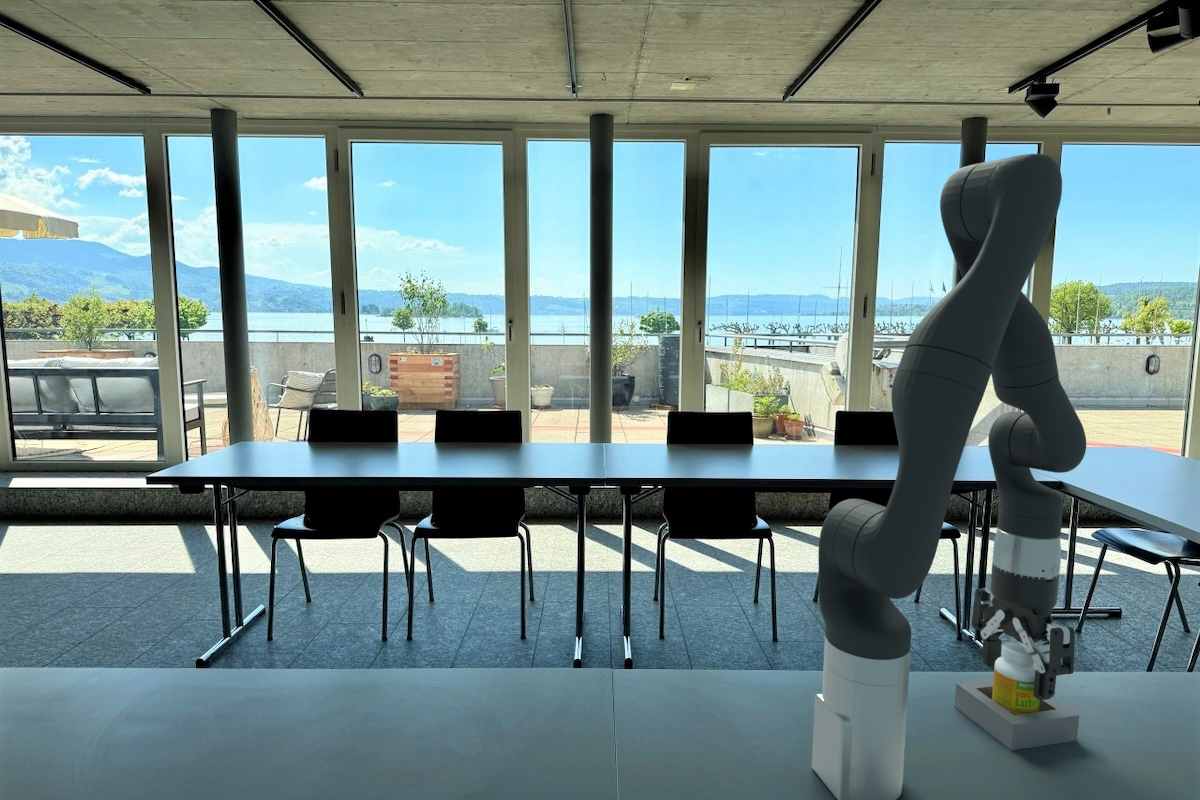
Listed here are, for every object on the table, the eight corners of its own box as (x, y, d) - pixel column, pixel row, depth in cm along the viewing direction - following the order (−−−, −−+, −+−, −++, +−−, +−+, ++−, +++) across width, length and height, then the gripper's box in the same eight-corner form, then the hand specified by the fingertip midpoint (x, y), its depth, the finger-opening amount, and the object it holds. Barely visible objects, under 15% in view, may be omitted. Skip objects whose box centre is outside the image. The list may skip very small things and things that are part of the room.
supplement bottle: (1015, 731, 88) (1020, 660, 87) (981, 708, 93) (986, 641, 92) (1047, 724, 90) (1053, 654, 89) (1013, 702, 95) (1018, 636, 94)
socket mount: (1011, 750, 86) (1013, 724, 85) (954, 706, 96) (956, 683, 95) (1076, 740, 88) (1079, 715, 87) (1014, 698, 98) (1016, 675, 97)
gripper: (961, 548, 95) (953, 658, 97) (1047, 587, 81) (1036, 714, 83) (1006, 545, 97) (998, 653, 99) (1098, 582, 83) (1087, 707, 85)
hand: (1015, 681), depth 91 cm, fingers open, 8 cm apart
